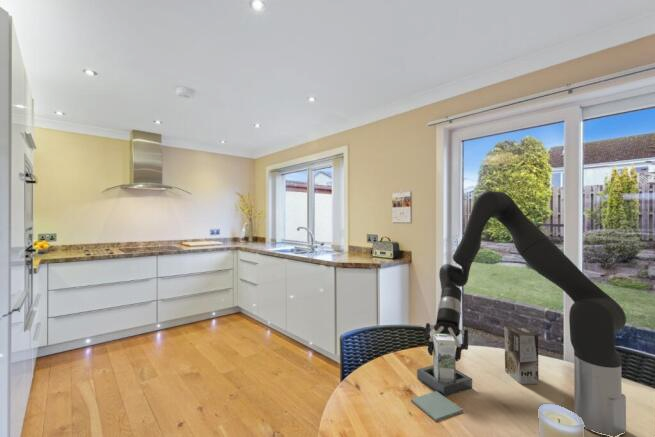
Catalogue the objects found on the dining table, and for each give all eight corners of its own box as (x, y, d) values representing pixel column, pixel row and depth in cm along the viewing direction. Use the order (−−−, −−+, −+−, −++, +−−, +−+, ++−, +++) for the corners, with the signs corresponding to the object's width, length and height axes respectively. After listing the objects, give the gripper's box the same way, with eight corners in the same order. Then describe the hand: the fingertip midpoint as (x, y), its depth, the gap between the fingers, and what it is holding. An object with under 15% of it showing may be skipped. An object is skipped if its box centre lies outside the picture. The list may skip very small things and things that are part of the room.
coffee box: (539, 384, 98) (539, 335, 98) (519, 384, 98) (519, 335, 98) (522, 370, 107) (521, 325, 107) (504, 370, 107) (503, 325, 108)
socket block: (472, 388, 96) (472, 378, 96) (443, 396, 91) (443, 387, 91) (443, 370, 107) (443, 362, 107) (417, 378, 102) (417, 369, 102)
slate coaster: (462, 411, 84) (462, 409, 84) (435, 421, 80) (435, 419, 80) (436, 393, 93) (436, 391, 93) (410, 400, 89) (410, 398, 89)
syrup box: (450, 375, 102) (449, 333, 102) (456, 385, 96) (455, 339, 96) (433, 375, 102) (432, 332, 102) (438, 384, 96) (437, 339, 97)
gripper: (426, 304, 109) (419, 347, 99) (469, 309, 102) (466, 357, 92) (430, 314, 114) (423, 357, 104) (471, 321, 107) (468, 367, 96)
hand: (443, 357), depth 98 cm, fingers closed on syrup box, 7 cm apart
